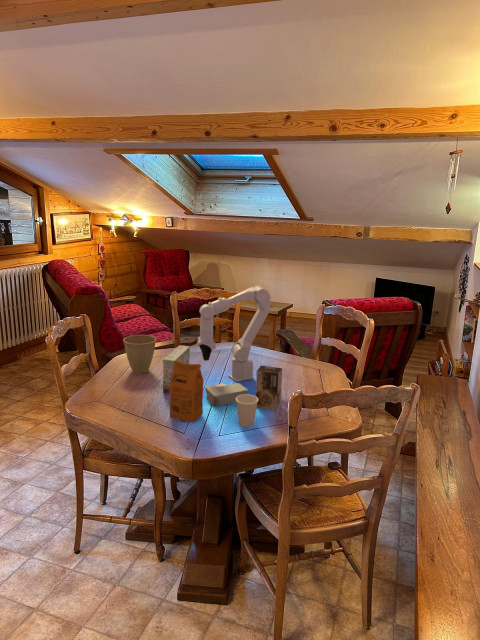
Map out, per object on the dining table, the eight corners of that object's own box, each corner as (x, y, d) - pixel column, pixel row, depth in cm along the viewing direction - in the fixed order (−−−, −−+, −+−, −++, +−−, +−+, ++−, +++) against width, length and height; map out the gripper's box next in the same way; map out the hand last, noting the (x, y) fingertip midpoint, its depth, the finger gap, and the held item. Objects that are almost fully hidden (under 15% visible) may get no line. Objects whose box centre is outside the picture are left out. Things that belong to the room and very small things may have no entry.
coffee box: (280, 405, 188) (283, 367, 184) (276, 411, 182) (278, 373, 178) (259, 401, 191) (261, 364, 186) (254, 407, 185) (256, 370, 181)
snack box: (175, 394, 196) (174, 360, 192) (162, 392, 197) (161, 359, 193) (190, 376, 216) (190, 345, 212) (178, 375, 217) (178, 344, 213)
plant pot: (133, 379, 210) (132, 345, 206) (119, 369, 221) (118, 337, 217) (162, 372, 219) (161, 340, 215) (147, 363, 230) (146, 332, 226)
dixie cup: (259, 428, 169) (261, 402, 166) (237, 429, 167) (238, 404, 164) (254, 417, 176) (255, 393, 174) (233, 419, 175) (233, 394, 172)
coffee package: (179, 407, 183) (179, 355, 177) (206, 414, 178) (207, 360, 172) (164, 417, 174) (164, 362, 169) (192, 425, 169) (192, 369, 163)
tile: (223, 387, 205) (224, 383, 204) (237, 399, 193) (237, 394, 193) (205, 391, 200) (205, 386, 200) (218, 403, 189) (218, 398, 189)
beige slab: (238, 392, 199) (238, 383, 197) (247, 399, 192) (247, 389, 191) (206, 398, 192) (206, 388, 190) (214, 406, 185) (214, 396, 184)
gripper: (191, 328, 210) (191, 356, 214) (205, 336, 198) (205, 366, 202) (205, 326, 214) (205, 354, 217) (220, 334, 202) (219, 364, 205)
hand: (206, 360), depth 210 cm, fingers closed
